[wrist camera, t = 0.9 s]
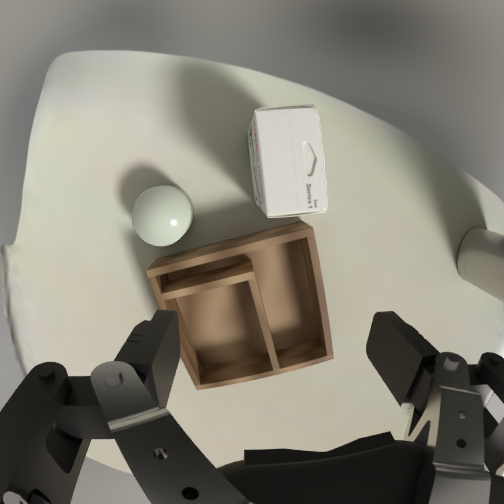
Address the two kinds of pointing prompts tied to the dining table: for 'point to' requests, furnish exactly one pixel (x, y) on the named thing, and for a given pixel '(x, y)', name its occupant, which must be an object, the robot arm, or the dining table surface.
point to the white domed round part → (162, 215)
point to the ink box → (287, 161)
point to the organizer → (247, 305)
